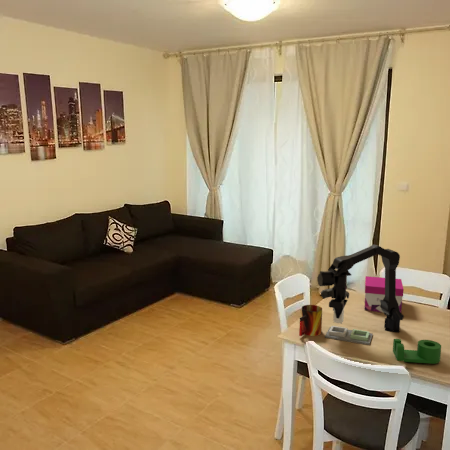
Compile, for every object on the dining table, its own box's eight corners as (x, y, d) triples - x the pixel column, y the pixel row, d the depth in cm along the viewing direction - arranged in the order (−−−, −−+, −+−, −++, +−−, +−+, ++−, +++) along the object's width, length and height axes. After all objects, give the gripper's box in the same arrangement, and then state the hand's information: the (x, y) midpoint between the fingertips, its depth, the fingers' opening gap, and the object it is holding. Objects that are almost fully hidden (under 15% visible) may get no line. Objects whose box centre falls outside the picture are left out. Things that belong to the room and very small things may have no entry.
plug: (343, 320, 215) (344, 304, 213) (341, 323, 211) (342, 307, 210) (333, 319, 217) (334, 303, 215) (331, 322, 213) (332, 305, 212)
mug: (299, 338, 211) (299, 313, 209) (301, 327, 224) (302, 303, 222) (320, 340, 208) (321, 315, 206) (321, 329, 221) (322, 305, 219)
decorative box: (363, 312, 243) (365, 285, 241) (364, 301, 261) (365, 276, 258) (401, 316, 238) (403, 289, 235) (399, 304, 255) (401, 279, 253)
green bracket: (436, 354, 195) (437, 340, 194) (442, 364, 186) (444, 349, 185) (392, 351, 198) (393, 337, 197) (396, 361, 189) (397, 346, 188)
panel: (372, 335, 214) (372, 330, 214) (369, 345, 203) (369, 340, 203) (330, 328, 222) (330, 323, 222) (324, 337, 212) (325, 332, 211)
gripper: (326, 277, 222) (325, 307, 225) (318, 288, 206) (317, 320, 208) (350, 280, 218) (348, 311, 221) (343, 291, 201) (341, 324, 204)
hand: (338, 316), depth 213 cm, fingers closed on plug, 4 cm apart
